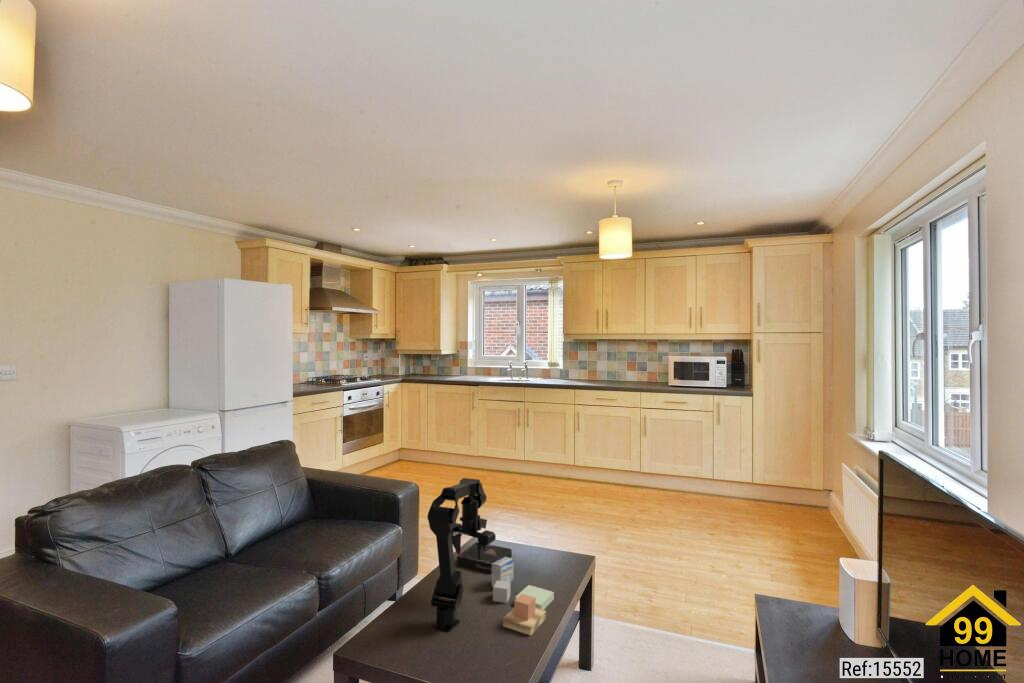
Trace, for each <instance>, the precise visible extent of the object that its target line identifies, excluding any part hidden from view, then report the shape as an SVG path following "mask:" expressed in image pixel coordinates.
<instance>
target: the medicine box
mask: <svg viewBox="0 0 1024 683" xmlns="http://www.w3.org/2000/svg"><path fill="white" fill-rule="evenodd" d="M514 564H515V563H514V559H513V558H512V557H511V558H508V557H503V558H502V559H500V560H498V561H496V562H494V563H492V573H491V587H493V586H494V585H495V583H496V581H497V580H498V581H505V582H511V584H512V583H513V582H514Z"/></svg>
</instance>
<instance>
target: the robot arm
mask: <svg viewBox="0 0 1024 683" xmlns="http://www.w3.org/2000/svg"><path fill="white" fill-rule="evenodd" d="M462 498H463V499H462ZM487 498H488V497H487V494H486V493H485V491H484V488H483V483H482V482H481V480H480V479H477V478H476V479H475V478H467V477H463V478H461V479H460V480H459V483H458V484H455V485H450V486H449V487H448V486H446V487H444V488H443V489H442V491H441V492H440V495H439V496H437V497H436V498H435V499H434V500H433V501H432V503H431V505H430V507H429V510H428V513H427V521H428V525H429V529H430V530H431V532H432V533H433V534H434V535H435V538H436V539H435V540H436V549H437V558H438V559H437V560H438V564H439V565H438V567H439V576H438V579H437V580H436V582H435V585H434V589H433V592H432V597H431V600H430V604H431V607H433V608H434V607H435V608H436V621H435V622H433V623H432V627H434V628H437V629H439V630H442V631H445V632H450V631H452V629H454V628H455V627H456V626H457V625H458V624H460V623H461V621H460V619H457V610H458V609H459V607H460V606H461V605H462V601H463V594H464V593H463V592H464V584H463V580H462V572H461V571H460V570H456V568H455V557H454V556H455V555H454V549H455V551H456V554H457V556H459V555H460V554H461V550H462V549H461V548H462V547H461V544H462V543H461V542H462V541H461V539H462V536H463V535H464V536H468V537H472V538H476V539H477V542H479V543H478V544H477V549H478V559H479V560H481V559H482V556H483V554H484V551H485V548H486V546H487V545H488V544H490V545H491V543H493V542H494V541H496V539H497V538H496V533H495V532H494V531H490V530H486V528H487V523H488V519H485V518H481V515H479V509H480V508H481V507H482V506H483V505H484V504H485V503H486V501H487ZM459 499H461V503H460V504H461V517H459V513H460V507H459V504H458V502H459ZM446 501H450V502H451V501H452V502H454V504H455V505H454V508H453V507H445V506H442V505H443V504H444V503H445V502H446ZM458 518H459V521H461V523H457V520H458ZM482 529H485V530H484V531H482V532H480V531H481V530H482Z"/></svg>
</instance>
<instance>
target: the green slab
mask: <svg viewBox="0 0 1024 683" xmlns="http://www.w3.org/2000/svg"><path fill="white" fill-rule="evenodd" d="M521 594H525V595H528V596H531V597H534V598H535V608H538V609H541V610H546V608H547V607H548V606H549V605H550V604H551V602H553V601H554V598H555V591H551V590H547V589H544V588H540V587H538V586H534V585H530V584H528V585H527V586H525V588H524V589H522V591H520V592H519V593H518V594H517V595H516V596H515V598H514V601H515V600H516V599H517V598H518V597H519V596H520V595H521Z"/></svg>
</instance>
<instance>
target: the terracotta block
mask: <svg viewBox="0 0 1024 683" xmlns="http://www.w3.org/2000/svg"><path fill="white" fill-rule="evenodd" d="M513 608H514V616H516V617H519V618H522V619H525V620H529V619H530V618H531V617H532V616H533V615H534V614H535V598H534V597H531V596H528V595H525V594H521V595H520V596H519V597H518V598H517V599H516V600H515V599H514V607H513Z"/></svg>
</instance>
